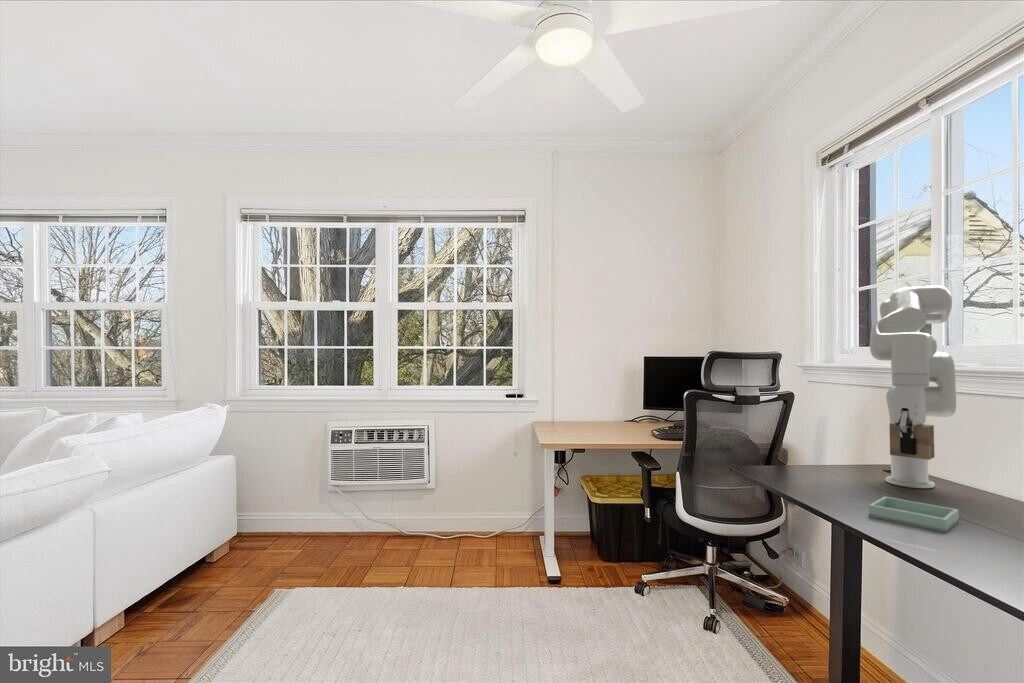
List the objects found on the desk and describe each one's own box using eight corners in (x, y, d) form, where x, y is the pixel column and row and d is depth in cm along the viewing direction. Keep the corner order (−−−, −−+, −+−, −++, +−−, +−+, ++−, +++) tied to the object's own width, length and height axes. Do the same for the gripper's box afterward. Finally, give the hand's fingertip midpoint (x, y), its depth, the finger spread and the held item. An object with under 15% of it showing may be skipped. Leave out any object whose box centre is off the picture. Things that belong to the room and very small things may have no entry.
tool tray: (884, 507, 142) (884, 496, 142) (958, 521, 130) (958, 509, 130) (868, 516, 134) (868, 505, 134) (946, 532, 122) (946, 520, 122)
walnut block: (896, 452, 137) (895, 422, 137) (934, 457, 130) (933, 425, 130) (890, 454, 133) (889, 423, 134) (929, 459, 127) (928, 427, 127)
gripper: (902, 379, 141) (903, 446, 140) (881, 381, 130) (883, 454, 129) (937, 380, 135) (939, 450, 134) (919, 382, 124) (920, 459, 124)
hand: (911, 451), depth 132 cm, fingers closed on walnut block, 5 cm apart
